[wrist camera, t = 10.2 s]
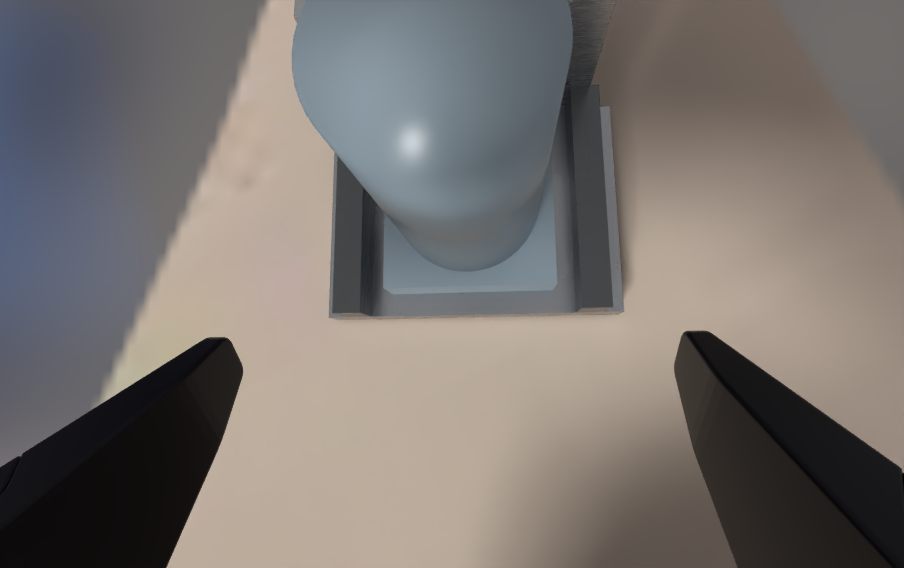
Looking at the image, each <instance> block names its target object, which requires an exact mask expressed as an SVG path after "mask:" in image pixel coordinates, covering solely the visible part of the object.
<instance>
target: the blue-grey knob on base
mask: <svg viewBox="0 0 904 568" xmlns="http://www.w3.org/2000/svg"><path fill="white" fill-rule="evenodd" d="M572 44H573V27H572V19H571V12H570V8H569V5H568V1H567V0H307V1H306V3H305V4H304V7H303V9H302V12H301V14H300V17H299V19H298V22H297V26H296V30H295V34H294V39H293V47H292V72H293V78H294V84H295V88H296V91H297V94H298V98H299V101H300V103H301V105H302V107H303V109H304V111H305V113H306V115H307V117H308V118H309V120H310V121H311V123H312V124H313V126H314V127H315V129H316V130H317V131H318V132H319V133H320V135H321V136H322V137H323V138H324V140H325V141H326V142H327V143H328V144H329V146H330V147H331V148H332V149H333V151H334V152H335V153H336V154H337V155H338V157H339V158H340V159H341V160H342V162H343V163H344V164H345V165H346V166H347V168H348V169H349V170H350V171H351V172H352V174H353V175H354V176H355V177H356V179H357V180H358V181H359V182H360V183H361V185H362V186H363V187H364V188H365V190H366V191H367V192H368V193H369V194H370V196H371V197H372V198H373V199H374V201H375V202H376V203H377V204H378V205H379V207H380V208H381V209H382V210H383V212H384V270H383V288H384V289H385V290H387V291H389V292H390V293H392V294H423V293H463V292H502V291H542V290H553V289H554V288H555V286H556V285H557V265H556V243H555V222H554V200H553V179H552V157H551V149H552V144H553V139H554V135H555V130H556V125H557V121H558V116H559V111H560V106H561V102H562V97H563V92H564V87H565V83H566V78H567V73H568V69H569V64H570V58H571V52H572Z"/></svg>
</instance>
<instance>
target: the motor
mask: <svg viewBox="0 0 904 568" xmlns="http://www.w3.org/2000/svg"><path fill="white" fill-rule="evenodd" d="M306 1H307V0H295V7H294V19H295V20H296V22H298V19H299V17H300V14H301V12H302V9H303V7H304V4H305V3H306ZM567 1H568V5H569V8H570V12H571V19H572V27H573V44H572V52H571V58H570V64H569V69H568V73H567V78H566V83H565V87H564V92H563V97H562V102H561V106H560V111H559V116H558V121H557V125H556V130H555V135H554V139H553V144H552V149H551V157H552V179H553V200H554V222H555V243H556V265H557V285H556V286H555V288H554V289H553V290H542V291H502V292H463V293H423V294H392V293H390V292H389V291H387V290H385V289H384V288H383V270H384V212H383V210H382V209H381V208H380V207H379V205H378V204H377V203H376V202H375V201H374V199H373V198H372V197H371V196H370V194H369V193H368V192H367V191H366V190H365V188H364V187H363V186H362V185H361V183H360V182H359V181H358V180H357V179H356V177H355V176H354V175H353V174H352V172H351V171H350V170H349V169H348V168H347V166H346V165H345V164H344V163H343V162H342V160H341V159H340V158H339V157H338V155H337V154H336V153H335V155H334V184H333V212H332V241H331V270H330V299H329V318H333V319H337V320H355V319H406V318H457V317H508V316H559V315H610V314H620V313H622V312H624V303H623V289H622V275H621V260H620V246H619V232H618V217H617V203H616V189H615V174H614V160H613V146H612V131H611V117H610V106H601V107H600V98H599V85H590V84H591V81H592V77H593V74H594V71H595V67H596V64H597V61H598V57H599V54H600V51H601V48H602V44H603V41H604V38H605V34H606V31H607V28H608V24H609V21H610V18H611V15H612V11H613V8H614V5H615V1H616V0H567Z"/></svg>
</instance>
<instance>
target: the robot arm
mask: <svg viewBox="0 0 904 568" xmlns="http://www.w3.org/2000/svg"><path fill="white" fill-rule="evenodd" d="M674 372H675V377H676V381H677V385H678V390H679V394H680V398H681V402H682V406H683V410H684V414H685V418H686V422H687V426H688V430H689V434H690V438H691V442H692V446H693V449H694V452H695V455H696V458H697V461H698V463H699V466H700V469H701V471H702V474H703V477H704V479H705V482H706V485H707V487H708V490H709V493H710V495H711V498H712V501H713V503H714V506H715V509H716V511H717V514H718V517H719V519H720V522H721V525H722V527H723V530H724V533H725V535H726V538H727V541H728V543H729V546H730V549H731V551H732V554H733V557H734V559H735V562H736V564H737V567H738V568H904V473H903V472H902V469H901V468H900V467H899V466H897V465H896V464H894V463H893V462H892V461H890V460H889V459H887V458H886V457H885V456H883V455H882V454H880V453H879V452H878V451H876V450H875V449H873V448H872V447H871V446H869V445H868V444H866V443H865V442H864V441H862V440H861V439H859V438H858V437H857V436H855V435H854V434H852V433H851V432H850V431H848V430H847V429H845V428H844V427H843V426H841V425H840V424H838V423H837V422H836V421H834V420H833V419H831V418H830V417H828V416H827V415H826V414H824V413H823V412H821V411H820V410H819V409H817V408H816V407H814V406H813V405H812V404H810V403H809V402H807V401H806V400H805V399H803V398H802V397H800V396H799V395H798V394H796V393H795V392H793V391H792V390H791V389H789V388H788V387H786V386H785V385H784V384H782V383H781V382H779V381H778V380H777V379H775V378H774V377H772V376H771V375H770V374H768V373H767V372H765V371H764V370H762V369H761V368H760V367H758V366H757V365H755V364H754V363H753V362H751V361H750V360H748V359H747V358H746V357H744V356H743V355H741V354H740V353H739V352H737V351H736V350H734V349H733V348H732V347H730V346H729V345H727V344H726V343H725V342H723V341H722V340H720V339H719V338H718V337H716V336H715V335H713V334H712V333H710V332H708V331H686V332H684V333H683V335H682V337H681V340H680V344H679V347H678V351H677V355H676V359H675V363H674ZM242 376H243V367H242V363H241V361H240V359H239V357H238V355H237V353H236V351H235V349H234V347H233V345H232V342H231V341H230V340H229V339H228V338H225V337H210V338H206V339H204V340H202V341H201V342H199V343H197V344H196V345H194V346H193V347H191V348H190V349H188V350H186V351H185V352H183V353H182V354H180V355H178V356H177V357H175V358H174V359H172V360H170V361H169V362H167V363H166V364H164V365H162V366H161V367H159V368H158V369H156V370H155V371H153V372H151V373H150V374H148V375H147V376H145V377H143V378H142V379H140V380H139V381H137V382H135V383H134V384H132V385H131V386H129V387H127V388H126V389H124V390H123V391H121V392H120V393H118V394H116V395H115V396H113V397H112V398H110V399H108V400H107V401H105V402H104V403H102V404H100V405H99V406H97V407H96V408H94V409H92V410H91V411H89V412H88V413H86V414H85V415H83V416H81V417H80V418H79V419H77V420H75V421H74V422H72V423H70V424H69V425H67V426H66V427H64V428H62V429H61V430H59V431H57V432H56V433H54V434H53V435H51V436H50V437H48V438H46V439H45V440H43V441H42V442H40V443H38V444H37V445H35V446H34V447H32V448H31V449H29V450H27V451H26V452H24V453H23V454H22V456H18V457H16V458H15V459H13V460H11V461H10V462H8V463H6V464H5V465H3V466H2V467H0V568H166V567H167V565H168V563H169V560H170V558H171V556H172V554H173V551H174V549H175V547H176V545H177V542H178V540H179V538H180V535H181V533H182V531H183V529H184V526H185V524H186V522H187V519H188V517H189V515H190V513H191V510H192V508H193V506H194V504H195V501H196V499H197V497H198V494H199V492H200V490H201V488H202V485H203V483H204V481H205V478H206V476H207V474H208V472H209V469H210V467H211V465H212V463H213V460H214V458H215V456H216V453H217V451H218V449H219V446H220V444H221V441H222V438H223V435H224V433H225V430H226V426H227V423H228V420H229V417H230V414H231V411H232V408H233V405H234V401H235V398H236V395H237V392H238V389H239V386H240V383H241V380H242Z"/></svg>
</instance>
